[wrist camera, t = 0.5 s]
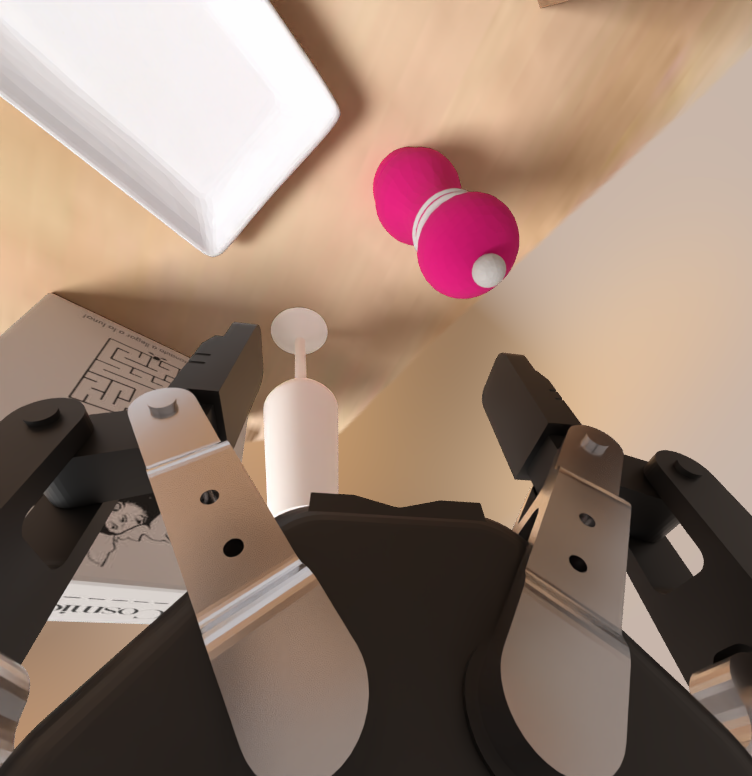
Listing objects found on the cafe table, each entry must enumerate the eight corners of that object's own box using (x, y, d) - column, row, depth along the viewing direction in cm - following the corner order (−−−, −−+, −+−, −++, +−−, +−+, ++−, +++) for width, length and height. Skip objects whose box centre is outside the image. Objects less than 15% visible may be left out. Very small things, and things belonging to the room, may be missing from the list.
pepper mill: (420, 119, 29) (545, 164, 15) (454, 195, 34) (575, 288, 19) (352, 176, 31) (403, 266, 17) (393, 241, 36) (461, 356, 21)
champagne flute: (258, 335, 40) (232, 534, 23) (294, 295, 38) (294, 485, 20) (304, 363, 44) (311, 551, 27) (339, 329, 42) (372, 512, 24)
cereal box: (27, 342, 36) (-242, 613, 18) (49, 290, 33) (-248, 552, 15) (224, 419, 48) (182, 626, 30) (253, 386, 45) (225, 595, 27)
